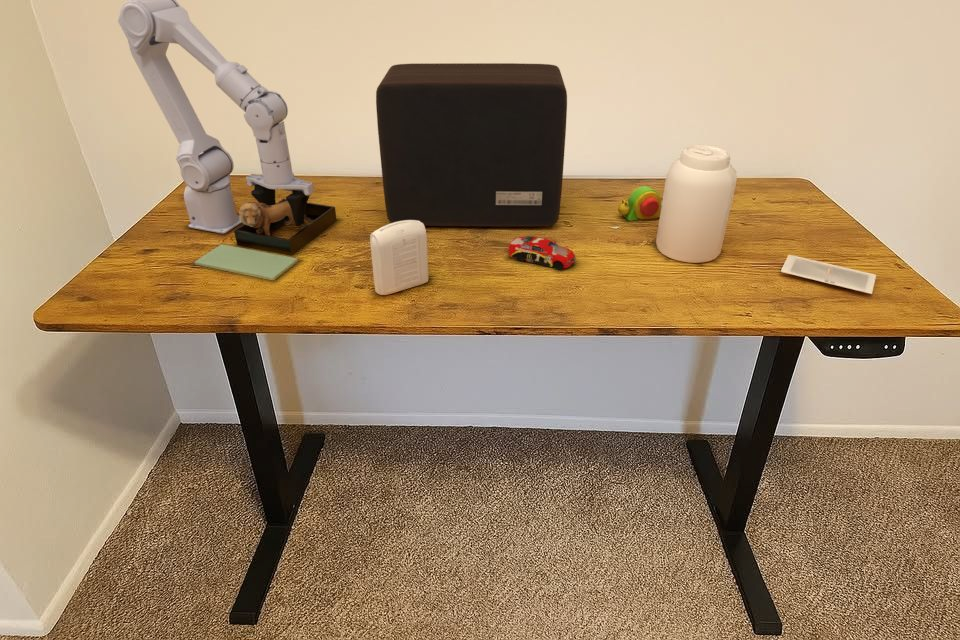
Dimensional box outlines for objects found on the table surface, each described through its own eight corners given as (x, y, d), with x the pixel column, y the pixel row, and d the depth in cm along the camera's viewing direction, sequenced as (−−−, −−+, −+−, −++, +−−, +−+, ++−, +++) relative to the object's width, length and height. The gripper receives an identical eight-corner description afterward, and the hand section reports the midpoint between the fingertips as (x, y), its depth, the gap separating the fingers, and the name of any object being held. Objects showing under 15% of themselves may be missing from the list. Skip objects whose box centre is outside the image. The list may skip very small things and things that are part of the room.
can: (642, 241, 131) (657, 144, 120) (693, 231, 135) (712, 136, 124) (680, 269, 122) (700, 167, 111) (734, 257, 126) (758, 157, 114)
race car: (579, 261, 125) (580, 242, 123) (569, 273, 121) (570, 254, 119) (516, 246, 130) (517, 228, 127) (504, 258, 126) (505, 239, 123)
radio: (553, 197, 150) (562, 61, 134) (559, 231, 136) (569, 82, 119) (398, 196, 151) (387, 61, 135) (386, 229, 137) (373, 82, 120)
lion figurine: (251, 250, 130) (244, 214, 124) (239, 236, 133) (232, 200, 126) (316, 227, 137) (313, 191, 131) (303, 214, 140) (300, 178, 134)
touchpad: (787, 259, 125) (790, 249, 124) (874, 280, 118) (878, 269, 117) (779, 276, 119) (781, 266, 118) (869, 299, 113) (873, 288, 111)
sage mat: (194, 264, 124) (193, 261, 124) (222, 246, 131) (221, 243, 130) (273, 280, 119) (273, 277, 119) (298, 261, 125) (297, 258, 125)
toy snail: (610, 214, 142) (613, 186, 139) (687, 202, 147) (692, 175, 144) (624, 226, 137) (628, 197, 134) (703, 213, 142) (709, 185, 139)
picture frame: (237, 245, 131) (233, 230, 129) (286, 212, 144) (283, 198, 142) (291, 255, 127) (289, 240, 125) (337, 220, 140) (335, 206, 139)
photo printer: (421, 272, 121) (417, 211, 114) (432, 282, 118) (429, 220, 111) (371, 288, 116) (363, 225, 110) (381, 299, 113) (375, 235, 107)
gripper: (318, 156, 128) (327, 219, 135) (256, 147, 132) (269, 209, 140) (297, 168, 122) (308, 233, 130) (234, 159, 127) (248, 222, 134)
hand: (286, 222), depth 134 cm, fingers closed on lion figurine, 6 cm apart
